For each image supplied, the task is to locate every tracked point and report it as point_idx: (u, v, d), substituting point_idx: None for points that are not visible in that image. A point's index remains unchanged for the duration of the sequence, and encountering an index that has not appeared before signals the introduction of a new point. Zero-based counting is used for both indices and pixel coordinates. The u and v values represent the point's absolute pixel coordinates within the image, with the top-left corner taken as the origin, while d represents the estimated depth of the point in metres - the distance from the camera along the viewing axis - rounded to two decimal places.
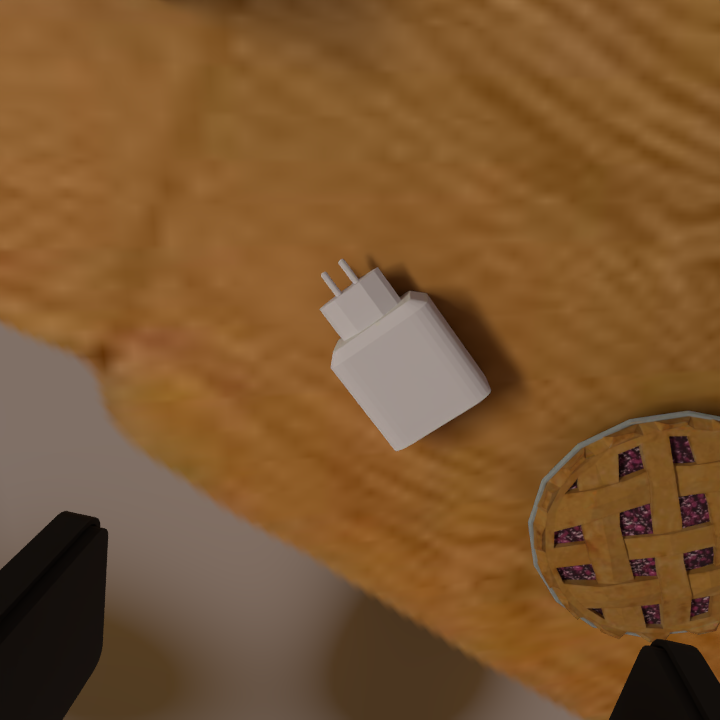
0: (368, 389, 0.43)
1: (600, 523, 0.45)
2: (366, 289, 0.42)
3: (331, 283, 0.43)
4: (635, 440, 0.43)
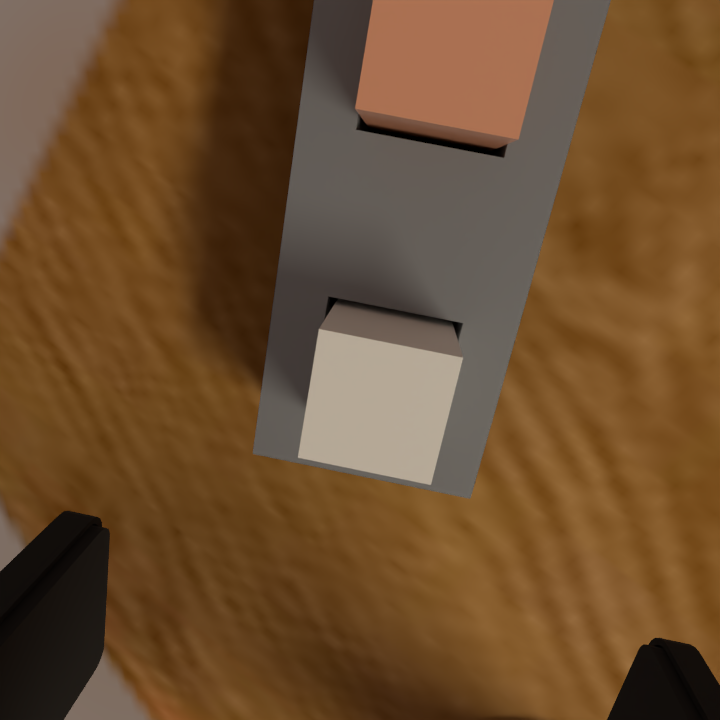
0: None
1: None
2: None
3: None
4: None
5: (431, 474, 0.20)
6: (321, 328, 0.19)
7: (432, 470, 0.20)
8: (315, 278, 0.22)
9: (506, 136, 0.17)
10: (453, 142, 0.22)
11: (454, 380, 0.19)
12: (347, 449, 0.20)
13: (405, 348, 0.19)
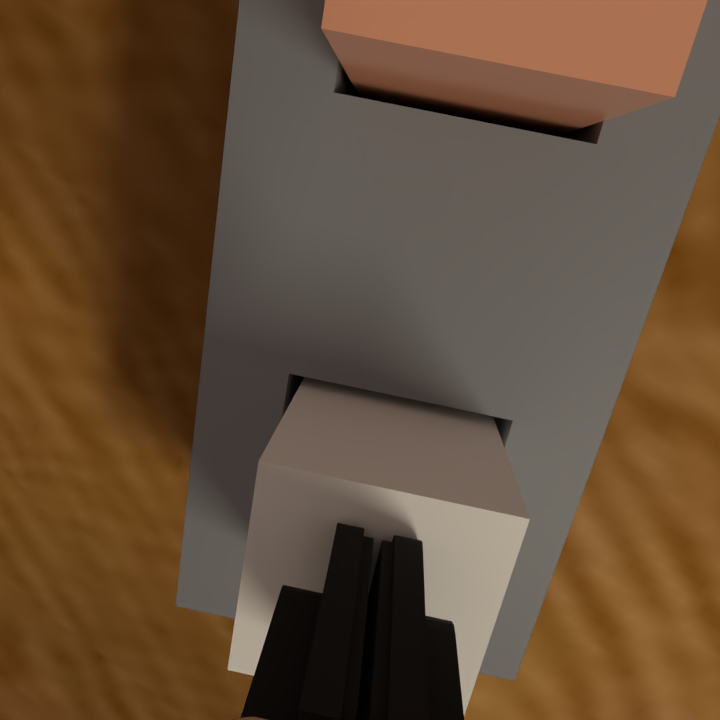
0: None
1: None
2: None
3: None
4: None
5: (463, 705, 0.11)
6: (263, 457, 0.10)
7: (465, 700, 0.11)
8: (267, 344, 0.13)
9: (648, 90, 0.08)
10: (501, 118, 0.13)
11: (511, 557, 0.10)
12: None
13: (421, 499, 0.10)
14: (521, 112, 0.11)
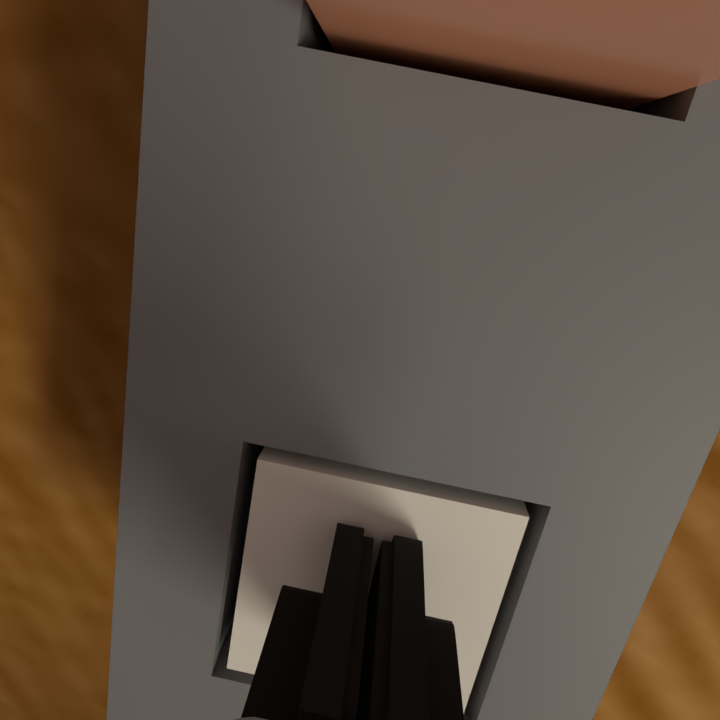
0: None
1: None
2: None
3: None
4: None
5: None
6: (262, 455, 0.10)
7: (464, 698, 0.11)
8: (213, 402, 0.10)
9: None
10: (538, 88, 0.09)
11: (511, 555, 0.10)
12: None
13: (420, 498, 0.10)
14: (574, 74, 0.08)
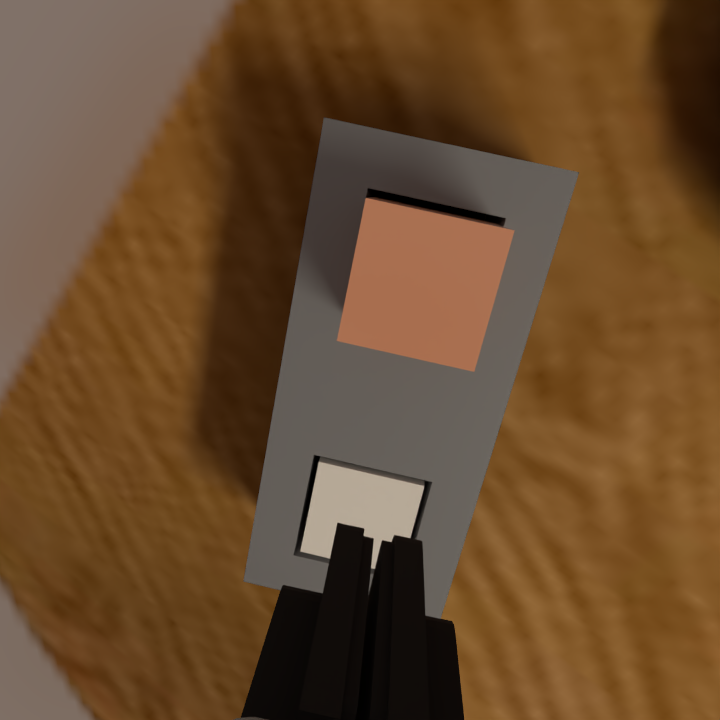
0: None
1: None
2: None
3: None
4: None
5: None
6: (320, 460, 0.26)
7: None
8: (303, 439, 0.25)
9: (464, 368, 0.20)
10: None
11: (418, 501, 0.26)
12: None
13: (382, 478, 0.26)
14: None
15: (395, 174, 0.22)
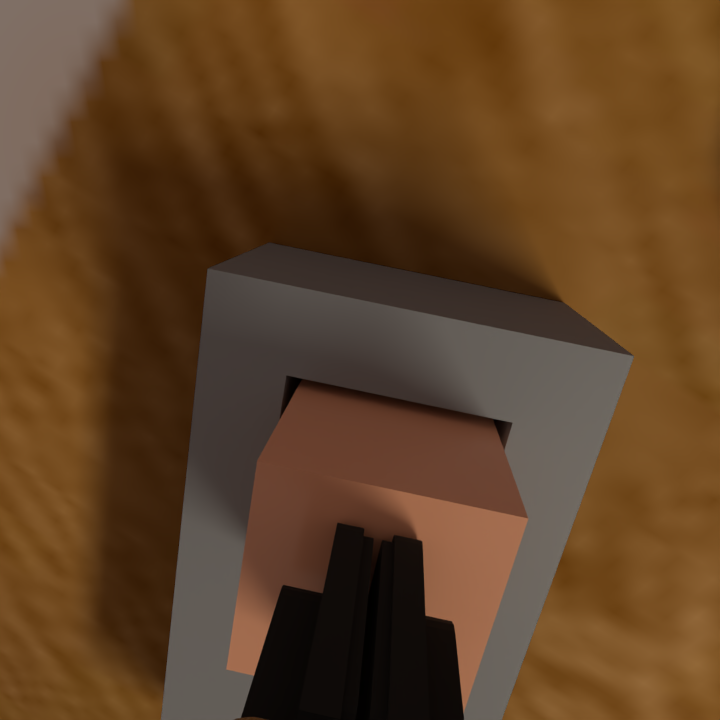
0: None
1: None
2: None
3: None
4: None
5: None
6: None
7: None
8: (212, 712, 0.17)
9: None
10: None
11: None
12: None
13: None
14: None
15: (329, 355, 0.13)
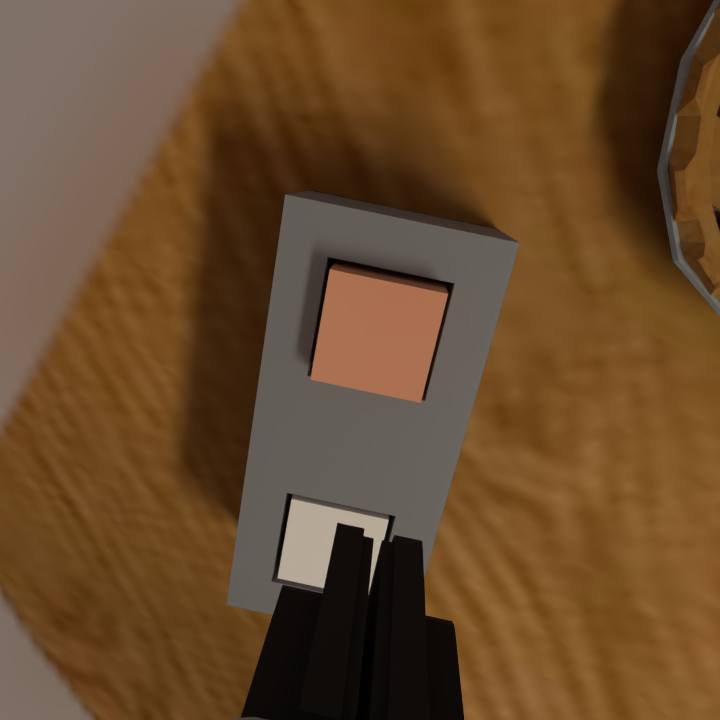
0: None
1: None
2: None
3: None
4: None
5: None
6: (293, 497, 0.28)
7: None
8: (276, 479, 0.28)
9: (412, 400, 0.25)
10: None
11: (383, 533, 0.28)
12: (311, 573, 0.29)
13: (350, 513, 0.28)
14: None
15: (352, 244, 0.24)
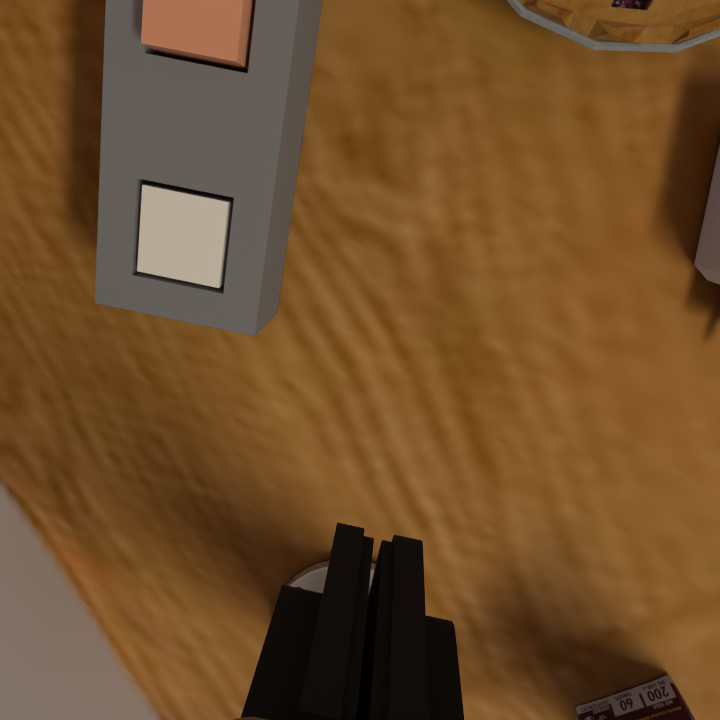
0: None
1: None
2: None
3: None
4: (612, 17, 0.29)
5: (218, 280, 0.33)
6: None
7: (218, 277, 0.33)
8: (127, 164, 0.31)
9: (230, 60, 0.28)
10: None
11: (224, 217, 0.32)
12: (166, 264, 0.33)
13: (194, 196, 0.31)
14: (233, 70, 0.32)
15: None
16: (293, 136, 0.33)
